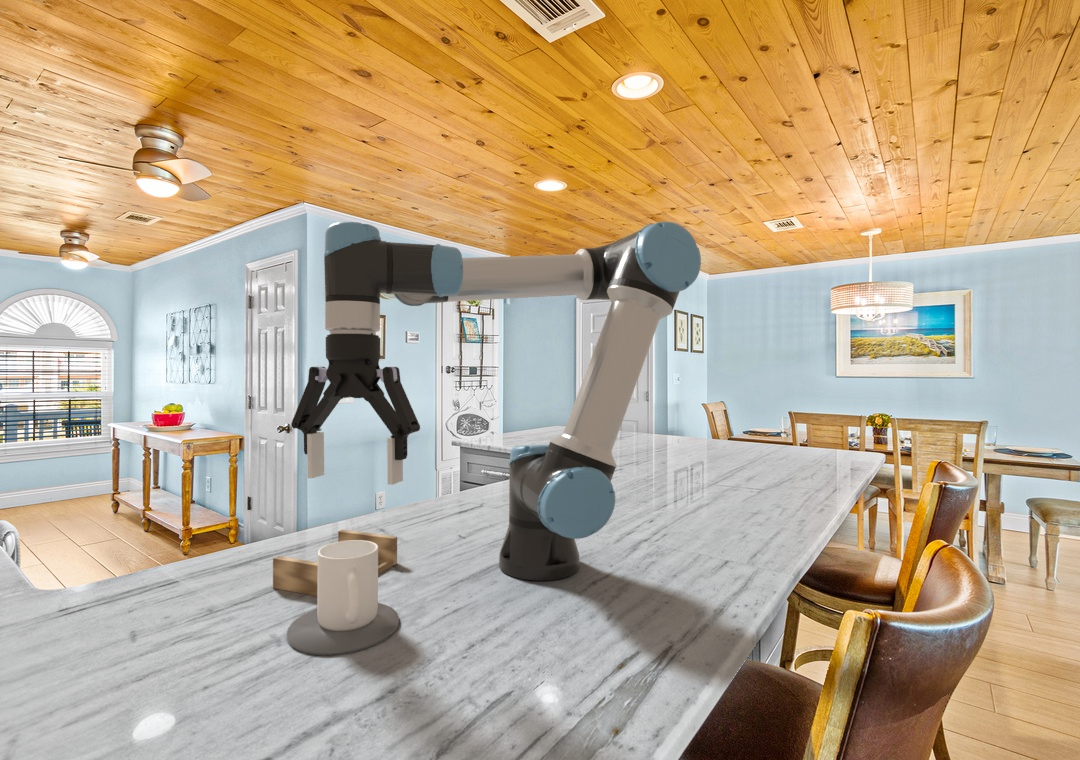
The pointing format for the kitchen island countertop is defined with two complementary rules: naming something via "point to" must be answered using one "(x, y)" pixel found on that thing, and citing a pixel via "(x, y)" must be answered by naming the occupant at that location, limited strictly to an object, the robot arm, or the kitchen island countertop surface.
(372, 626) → the coaster
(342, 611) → the mug
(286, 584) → the caddy
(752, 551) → the kitchen island countertop surface
